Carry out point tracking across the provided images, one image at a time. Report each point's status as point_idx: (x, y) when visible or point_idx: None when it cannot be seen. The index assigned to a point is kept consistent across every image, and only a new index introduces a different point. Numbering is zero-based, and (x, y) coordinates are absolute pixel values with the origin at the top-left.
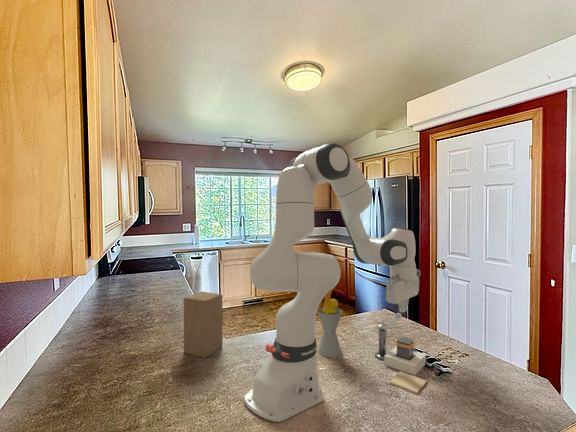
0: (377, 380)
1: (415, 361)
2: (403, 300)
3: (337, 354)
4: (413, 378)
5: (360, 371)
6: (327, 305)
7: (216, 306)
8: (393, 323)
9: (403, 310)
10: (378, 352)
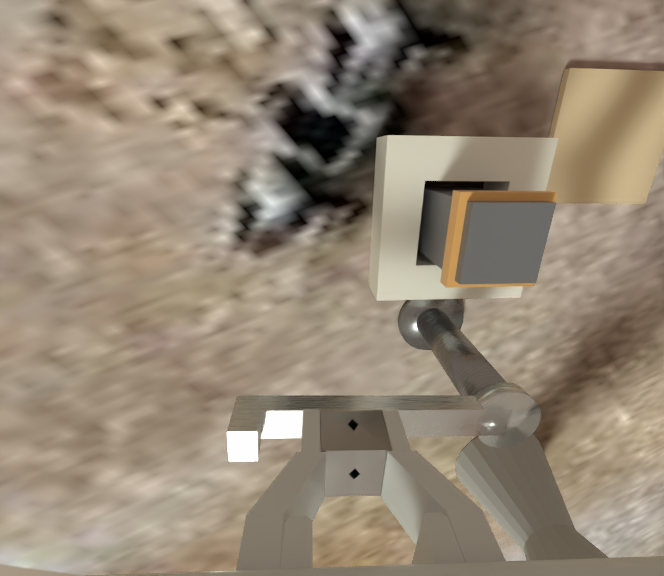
0: (632, 247)
1: (506, 154)
2: (587, 566)
3: None
4: (577, 129)
5: (591, 322)
6: None
7: None
8: (372, 396)
9: (401, 425)
10: (417, 343)
